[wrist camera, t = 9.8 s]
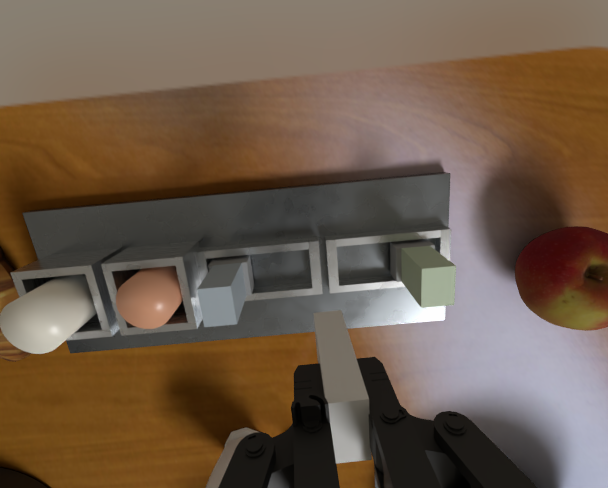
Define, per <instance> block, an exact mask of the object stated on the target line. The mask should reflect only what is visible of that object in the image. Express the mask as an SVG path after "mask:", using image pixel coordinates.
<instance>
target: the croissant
mask: <svg viewBox="0 0 608 488" xmlns="http://www.w3.org/2000/svg"><path fill="white" fill-rule="evenodd" d="M13 271H15V270H14V269H13V267H12V266H11V265H10V264H9V263H8V261H7V260H6V259H5V258H4V255H3V252H2V249H1V247H0V314H1V312H2V310H3V308H4V307H5V306H6V305H7V304H9V303H11V302H12V301H14V300H16V299H18V298H20V297H19V295H18V292H17V289H16V287H15V284H14V281H13V279H12V276H11V273H10V272H13ZM30 354H31V353H29V352H25V351H23V350H21V349H19V348H17V347H15V346H14V345H13V344H11V343H10V342H9V341H8V340H7V339H6V337H5V336H4V334H3V333H2V331H1V328H0V358H3V359H5V360H8V361H15V362H16V361H18V360H21V359H23V358H25V357H27V356H29V355H30Z"/></svg>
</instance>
